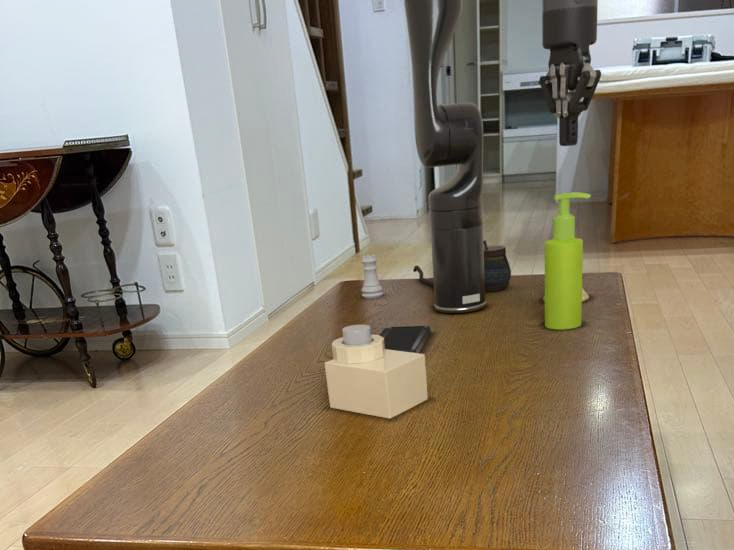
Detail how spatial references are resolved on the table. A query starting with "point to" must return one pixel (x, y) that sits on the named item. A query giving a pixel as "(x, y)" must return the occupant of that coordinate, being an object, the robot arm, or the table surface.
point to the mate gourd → (496, 268)
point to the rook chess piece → (370, 278)
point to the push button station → (375, 378)
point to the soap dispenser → (564, 269)
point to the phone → (405, 338)
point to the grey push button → (357, 335)
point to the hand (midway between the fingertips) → (568, 145)
